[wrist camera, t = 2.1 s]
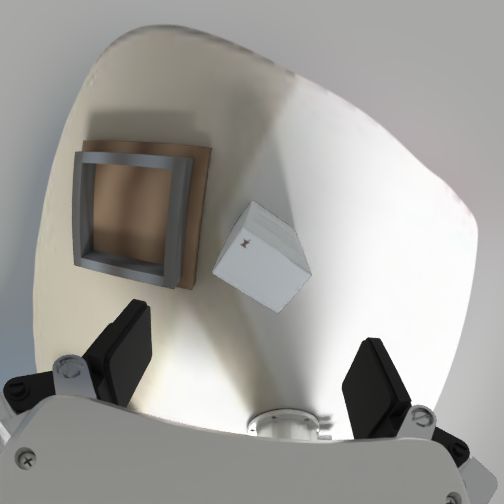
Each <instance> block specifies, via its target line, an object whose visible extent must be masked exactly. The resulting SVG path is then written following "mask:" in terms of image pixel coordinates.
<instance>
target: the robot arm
mask: <svg viewBox="0 0 504 504" xmlns="http://www.w3.org/2000/svg"><path fill="white" fill-rule="evenodd" d="M151 358H152V341H151V313H150V306H147V303H146V302H145V301H141V300H136V299H133V300H132V301H131V302H130V303H129V304H128V306H127V307H126V308H125V309H124V310H123V311H122V313H121V314H120V315H119V316H118V317H117V318H116V320H115V321H114V322H113V323H110V324H109V325H108V326H107V327H106V328H105V329H104V330H103V332H102V333H101V334H100V335H99V336H98V338H97V339H96V340H95V341H94V342H93V344H92V345H91V346H90V347H89V349H88V350H87V351H86V352H85V354H84V355H83V356H82V357H80V356H77V355H64V356H62V357H60V358H58V359H57V360H56V361H55V362H54V364H53V371H48V372H43V373H37V374H33V375H26V376H20V377H15V378H12V379H10V380H9V381H8V382H7V383H6V384H5V386H4V388H3V392H1V393H0V504H488V503H489V501H490V499H491V498H492V496H493V494H494V493H495V491H496V489H497V484H498V483H497V479H496V477H495V476H494V475H493V474H492V473H491V472H490V471H489V470H487V469H486V468H485V467H484V466H483V465H482V464H481V463H480V462H479V461H478V460H476V459H475V458H474V457H472V458H469V455H470V451H469V448H468V446H467V444H466V443H465V442H463V441H462V440H460V439H458V438H456V437H454V436H453V435H451V434H449V433H447V432H445V431H443V430H442V429H440V428H438V427H436V416H435V414H434V413H433V411H432V410H431V409H429V408H428V407H426V406H423V405H415V406H412V405H411V403H410V402H411V398H410V396H409V394H408V392H407V390H406V388H405V386H404V384H403V382H402V380H401V378H400V376H399V374H398V372H397V370H396V368H395V366H394V364H393V362H392V360H391V358H390V356H389V354H388V352H387V350H386V349H385V347H384V345H383V343H382V341H381V339H379V338H369V337H368V338H367V339H366V340H364V341H362V343H361V345H360V347H359V350H358V352H357V354H356V356H355V358H354V360H353V363H352V365H351V367H350V369H349V371H348V373H347V375H346V377H345V379H344V381H343V383H342V392H343V395H344V399H345V403H346V407H347V411H348V415H349V419H350V423H351V427H352V432H353V436H354V440H332V436H331V435H324V436H319V434H318V433H319V431H320V427H319V422H318V420H317V419H316V418H315V417H314V416H313V415H311V414H309V413H307V412H304V411H300V410H292V409H281V410H274V411H270V412H266V413H263V414H261V415H259V416H257V417H256V418H254V419H253V420H252V421H251V422H250V423H249V426H248V435H243V434H236V433H230V432H223V431H218V430H212V429H207V428H201V427H197V426H192V425H187V424H183V423H179V422H175V421H171V420H167V419H163V418H159V417H156V416H152V415H148V414H145V413H141V412H138V411H135V410H131V409H128V408H126V407H127V405H128V403H129V401H130V399H131V397H132V395H133V393H134V391H135V389H136V387H137V386H138V384H139V382H140V380H141V378H142V376H143V374H144V372H145V370H146V368H147V366H148V364H149V363H150V361H151Z"/></svg>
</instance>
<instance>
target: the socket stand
mask: <svg viewBox="0 0 504 504" xmlns="http://www.w3.org/2000/svg"><path fill="white" fill-rule="evenodd" d="M211 149H212V148H206V147H198V146H188V145H177V144H165V143H151V142H132V141H83V148H82V152H75V160H74V172H73V192H72V236H73V255H74V265H75V266H79V267H83V268H86V269H90V270H94V271H98V272H102V273H106V274H110V275H114V276H118V277H122V278H126V279H131V280H135V281H139V282H143V283H148V284H152V285H157V286H161V287H166V288H171V289H174V288H175V287H180V288H184V289H189V290H192V288H193V287H194V285H195V276H196V266H197V256H198V246H199V237H200V228H201V220H202V212H203V204H204V197H205V189H206V182H207V175H208V168H209V162H210V155H211Z"/></svg>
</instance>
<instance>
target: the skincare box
mask: <svg viewBox="0 0 504 504" xmlns="http://www.w3.org/2000/svg"><path fill="white" fill-rule="evenodd" d="M212 273H213V274H214V275H216V276H218V277H219V278H221V279H222V280H224V281H225V282H227V283H228V284H230V285H232V286H233V287H235V288H236V289H238V290H240V291H241V292H243V293H245V294H246V295H248V296H250V297H251V298H253V299H255V300H256V301H258V302H259V303H261V304H263V305H264V306H266V307H268V308H269V309H271V310H273V311H274V312H276V313H279V312H280V311H281V310H282V309H283V307H284V306H285V305H286V304H287V303H288V302H289V301H290V300H291V298H292V297H293V296H294V295H295V294H296V293H297V292H298V291H299V289H300V288H301V287H302V286H303V285H304V284H305V282H306V281H307V280H308V279H309V278H310V277H311V275H312V274H311V271H310V269H309V266H308V263H307V260H306V258H305V255H304V252H303V249H302V247H301V244H300V241H299V239H298V236H297V233H296V231H295V230H294V229H293V228H291V227H290V226H289V225H287V224H286V223H284V222H283V221H282V220H280V219H279V218H277V217H276V216H275V215H273V214H272V213H270V212H269V211H267V210H266V209H264V208H263V207H262V206H260V205H259V204H257V203H256V202H254V201H253V200H252V201H251V202H250V203H249V205H248V206H247V208H246V209H245V210H244V212H243V213H242V215H241V216H240V217H239V219H238V220H237V222H236V223H235V225H234V226H233V228H232V229H231V231H230V234H229V235H228V238H227V240H226V242H225V244H224V246H223V248H222V251H221V253H220V255H219V257H218V259H217V262H216V264H215V266H214V268H213V271H212Z"/></svg>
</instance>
